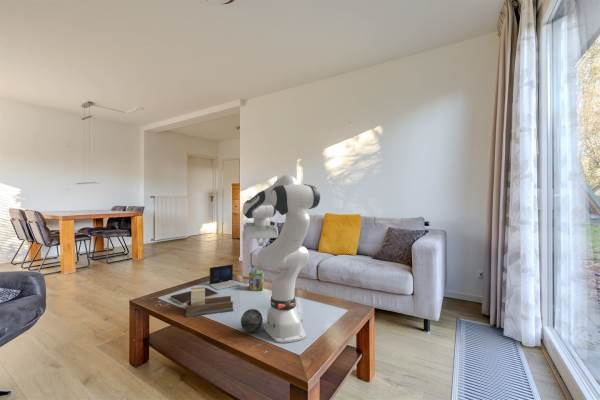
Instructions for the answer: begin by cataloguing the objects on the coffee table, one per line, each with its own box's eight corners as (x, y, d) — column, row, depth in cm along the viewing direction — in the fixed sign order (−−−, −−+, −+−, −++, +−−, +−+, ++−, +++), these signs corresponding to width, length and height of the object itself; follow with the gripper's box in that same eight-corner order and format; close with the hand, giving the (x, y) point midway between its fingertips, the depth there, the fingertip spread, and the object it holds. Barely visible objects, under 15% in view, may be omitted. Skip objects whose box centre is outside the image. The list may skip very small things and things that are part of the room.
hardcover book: (218, 296, 172) (218, 292, 172) (182, 306, 155) (182, 302, 155) (205, 290, 183) (205, 287, 183) (170, 299, 165) (170, 295, 165)
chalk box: (262, 291, 182) (262, 269, 182) (248, 290, 182) (248, 268, 182) (264, 286, 191) (264, 265, 192) (251, 286, 192) (251, 265, 192)
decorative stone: (238, 328, 128) (239, 307, 128) (259, 324, 132) (259, 304, 132) (243, 338, 119) (243, 315, 119) (265, 334, 123) (265, 312, 123)
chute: (233, 311, 148) (233, 303, 148) (185, 317, 139) (185, 309, 139) (229, 300, 163) (230, 294, 163) (186, 305, 154) (186, 298, 154)
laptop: (217, 290, 182) (217, 271, 182) (209, 286, 191) (209, 267, 191) (240, 285, 194) (241, 267, 194) (232, 281, 203) (232, 264, 204)
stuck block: (204, 309, 147) (205, 290, 147) (190, 310, 144) (191, 291, 144) (204, 304, 153) (204, 286, 154) (191, 305, 151) (191, 287, 151)
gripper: (244, 223, 153) (244, 247, 153) (279, 222, 160) (278, 246, 160) (242, 222, 159) (242, 245, 159) (276, 221, 166) (275, 244, 166)
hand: (260, 245), depth 160 cm, fingers closed
